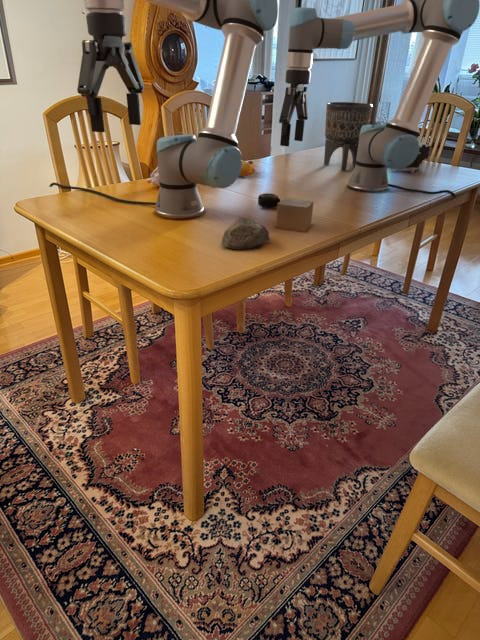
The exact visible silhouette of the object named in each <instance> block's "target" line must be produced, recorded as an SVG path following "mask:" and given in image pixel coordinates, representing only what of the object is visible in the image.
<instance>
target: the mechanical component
mask: <svg viewBox="0 0 480 640" xmlns="http://www.w3.org/2000/svg"><path fill="white" fill-rule="evenodd" d="M418 128H419V129H420V126H418ZM418 142H419V153H418V155H417V157H416V159H415V160H414V161H413V162H412V163H411V164H410V165H409V166H407V167H405V168H403V169H391V168H388V170H389V169H390V170H392V172H395V173H397V172H398V171H405V172H407V171H408V172H409V173H414V172H415V171H416V170H418V169H419V168H420V167H422V165H423V161H425V160H427V159H429V155H430V153H431V146H432V145H430V144H426V143H425V142H423V141H418Z"/></svg>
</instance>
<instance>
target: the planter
mask: <svg viewBox="0 0 480 640" xmlns="http://www.w3.org/2000/svg"><path fill="white" fill-rule="evenodd" d="M373 107H374V106H373V104H372V103H367V102H353V101H333V102H327V103H326V109H325V124H324V125H325V126H324V139H325V144H324V156H323V157H324V158H323V165H325V166H328V165H330V163H331V158H332V156H333V154H334V153H335V151H336V150H337V149H340V148H341V150H342V153H341V166H340V170H341V172H345V171H347V167H348V166H347V165H348V159H349V152H350V154H351V157H352V158H351V159H352V160H351V161H352V166H353V167H355V165H356V158H357V151H358V143H359V135H360V131H361V128H362V126H364V125H370V121H371V116H372V112H373Z"/></svg>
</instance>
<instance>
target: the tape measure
mask: <svg viewBox="0 0 480 640" xmlns="http://www.w3.org/2000/svg"><path fill="white" fill-rule="evenodd" d="M280 201H281V198H280V197H279V196H278V195H277V194H276V193H269V192H268V193H267V192H265V193H261V194H259V195H258V199H257V205H258V206H259V207H260V208H261V207H262V208H266V209H270V208H277V204H278V203H279V202H280Z"/></svg>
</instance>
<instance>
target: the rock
mask: <svg viewBox="0 0 480 640" xmlns="http://www.w3.org/2000/svg"><path fill="white" fill-rule="evenodd" d="M269 241H270V233H269V230H268V229H267V228H266V226H265V225H263V224H261V223H259V222H256V221H255V220H252V219H247V218H245V217H241V216H238V217H237V218H236V219H235V221H234V222H233V223H232V224H231V225H229V226H228V227H227V228H226V229H225V231H224V233H223V236H222V239H221V244H222V247H224V248H229V249H231V250H245V249H254V248H257V247H259V246H260V245H264V244H266V242H269Z"/></svg>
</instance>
